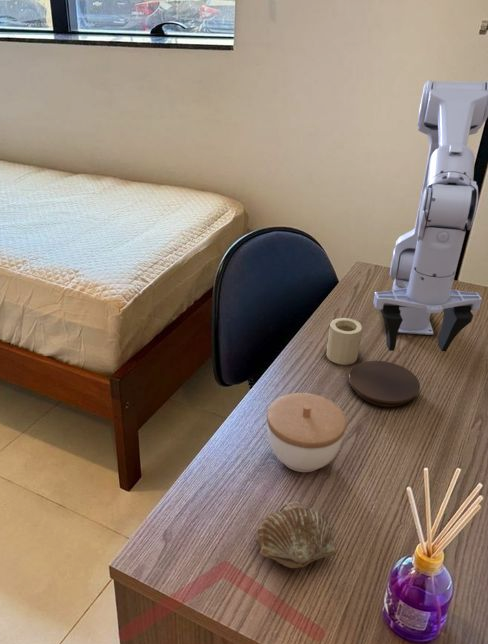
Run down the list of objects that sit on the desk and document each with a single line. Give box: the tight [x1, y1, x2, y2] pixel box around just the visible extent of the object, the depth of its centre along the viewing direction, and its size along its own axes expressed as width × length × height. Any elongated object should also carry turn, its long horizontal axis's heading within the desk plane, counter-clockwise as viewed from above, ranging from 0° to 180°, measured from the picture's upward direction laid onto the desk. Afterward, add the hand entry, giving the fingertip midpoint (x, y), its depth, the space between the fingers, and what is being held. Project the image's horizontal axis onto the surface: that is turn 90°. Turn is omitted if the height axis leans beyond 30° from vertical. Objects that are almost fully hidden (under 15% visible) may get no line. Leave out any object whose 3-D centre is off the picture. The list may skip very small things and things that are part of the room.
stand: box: [348, 360, 421, 408], centre depth 99 cm, size 11×11×2 cm
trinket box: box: [266, 392, 347, 473], centre depth 84 cm, size 11×11×9 cm
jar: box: [326, 317, 363, 366], centre depth 106 cm, size 5×5×6 cm
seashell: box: [253, 501, 338, 569], centre depth 71 cm, size 9×7×8 cm
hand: (415, 347), depth 92 cm, fingers open, 7 cm apart
